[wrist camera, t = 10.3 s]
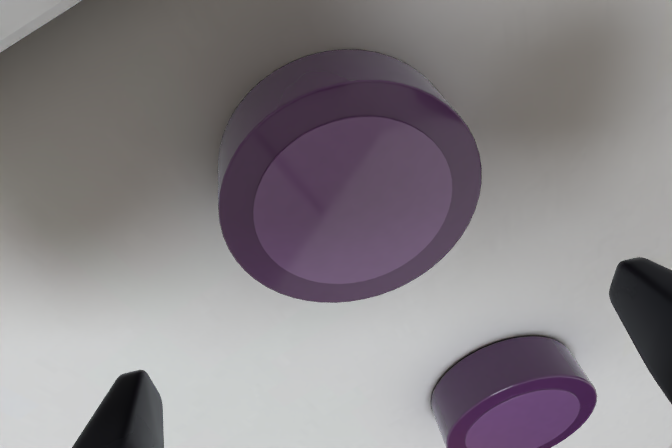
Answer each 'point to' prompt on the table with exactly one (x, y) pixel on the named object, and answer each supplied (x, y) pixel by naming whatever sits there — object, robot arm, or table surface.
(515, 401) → the bottom dish
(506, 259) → the table surface
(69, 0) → the plate
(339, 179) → the top dish
